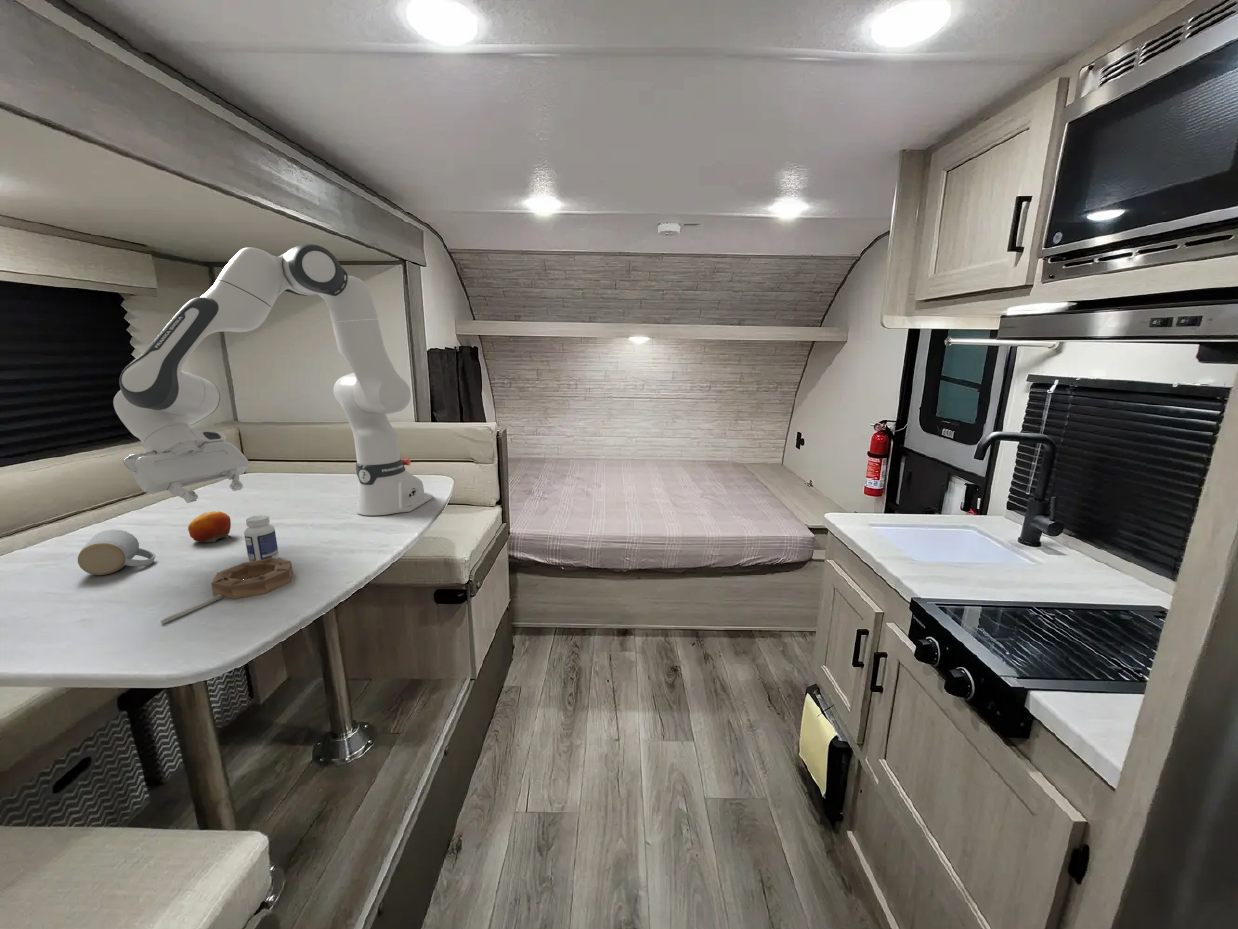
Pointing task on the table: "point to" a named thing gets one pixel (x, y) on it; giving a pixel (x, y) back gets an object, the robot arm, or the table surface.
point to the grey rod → (190, 609)
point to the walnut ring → (235, 587)
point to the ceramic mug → (112, 553)
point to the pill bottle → (260, 539)
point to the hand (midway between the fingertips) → (217, 494)
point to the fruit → (210, 527)
